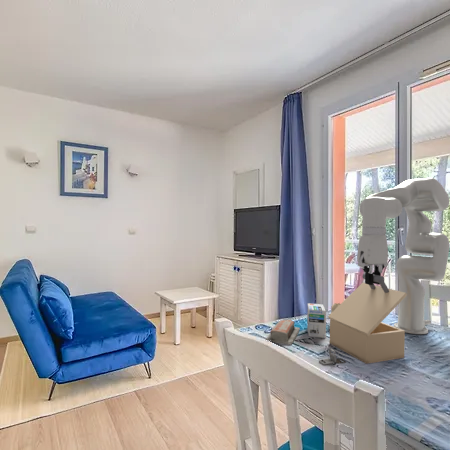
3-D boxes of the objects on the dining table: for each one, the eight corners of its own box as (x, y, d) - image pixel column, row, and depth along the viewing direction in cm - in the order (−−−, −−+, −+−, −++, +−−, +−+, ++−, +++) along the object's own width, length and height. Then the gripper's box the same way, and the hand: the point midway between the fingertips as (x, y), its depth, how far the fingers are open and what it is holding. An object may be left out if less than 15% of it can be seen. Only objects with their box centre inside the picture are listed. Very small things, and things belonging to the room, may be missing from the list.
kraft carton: (363, 338, 122) (364, 315, 122) (404, 357, 106) (404, 330, 106) (329, 343, 117) (330, 319, 117) (366, 363, 100) (367, 335, 100)
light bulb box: (326, 338, 122) (326, 310, 122) (308, 337, 124) (308, 309, 124) (323, 329, 133) (323, 303, 133) (306, 328, 134) (307, 302, 134)
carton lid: (364, 284, 123) (354, 268, 121) (407, 295, 105) (397, 276, 103) (329, 318, 118) (319, 302, 116) (368, 335, 100) (357, 317, 98)
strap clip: (324, 366, 98) (324, 353, 98) (318, 362, 101) (318, 349, 101) (346, 363, 101) (347, 350, 101) (340, 359, 104) (340, 346, 104)
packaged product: (292, 333, 114) (265, 329, 118) (292, 346, 114) (265, 342, 118) (300, 319, 131) (276, 316, 135) (300, 331, 131) (276, 328, 135)
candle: (338, 329, 133) (338, 305, 133) (328, 325, 138) (328, 302, 138) (347, 327, 135) (347, 304, 135) (337, 324, 140) (337, 301, 140)
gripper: (382, 232, 118) (381, 281, 119) (347, 231, 113) (346, 283, 113) (399, 232, 111) (398, 284, 112) (363, 232, 106) (362, 287, 106)
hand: (372, 283), depth 112 cm, fingers open, 2 cm apart
